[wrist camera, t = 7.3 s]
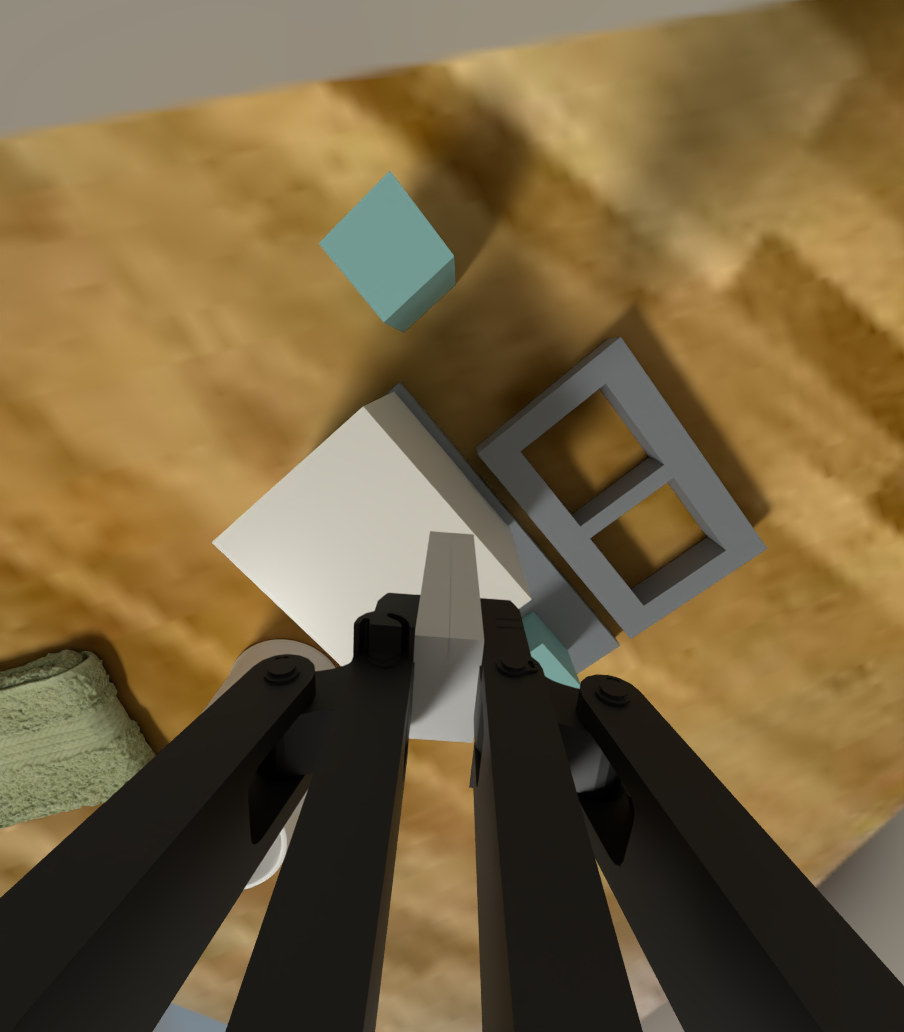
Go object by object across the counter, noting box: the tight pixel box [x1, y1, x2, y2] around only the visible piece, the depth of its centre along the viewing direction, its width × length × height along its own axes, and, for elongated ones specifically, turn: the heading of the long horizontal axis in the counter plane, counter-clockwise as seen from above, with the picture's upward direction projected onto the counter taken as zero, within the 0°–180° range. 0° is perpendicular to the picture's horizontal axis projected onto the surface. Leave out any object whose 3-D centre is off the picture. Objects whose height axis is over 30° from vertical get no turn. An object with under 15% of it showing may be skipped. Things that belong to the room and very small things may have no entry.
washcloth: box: [0, 650, 156, 829], centre depth 37 cm, size 13×18×3 cm
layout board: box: [385, 382, 620, 689], centre depth 31 cm, size 23×10×5 cm, turn 40°
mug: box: [201, 639, 336, 889], centre depth 31 cm, size 12×9×12 cm
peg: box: [319, 171, 456, 333], centre depth 24 cm, size 4×4×8 cm
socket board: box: [476, 337, 767, 639], centre depth 30 cm, size 16×10×2 cm, turn 40°
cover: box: [212, 392, 532, 666], centre depth 26 cm, size 11×9×10 cm
